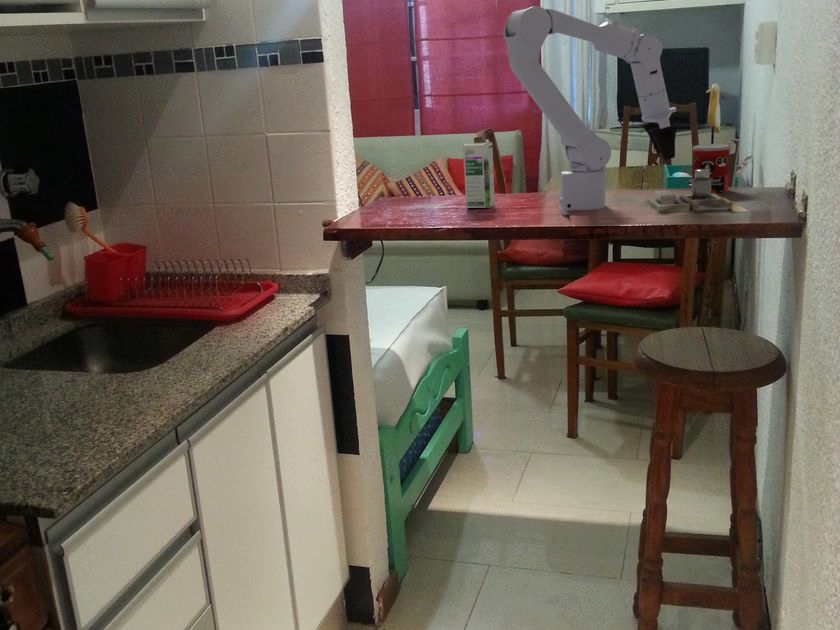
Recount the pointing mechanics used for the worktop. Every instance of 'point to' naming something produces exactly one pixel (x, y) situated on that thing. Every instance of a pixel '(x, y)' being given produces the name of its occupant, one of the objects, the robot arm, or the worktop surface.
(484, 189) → the syrup box
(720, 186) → the canned food
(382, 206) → the worktop surface
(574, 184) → the robot arm
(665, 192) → the gray rectangular block
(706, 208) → the socket board
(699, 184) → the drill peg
